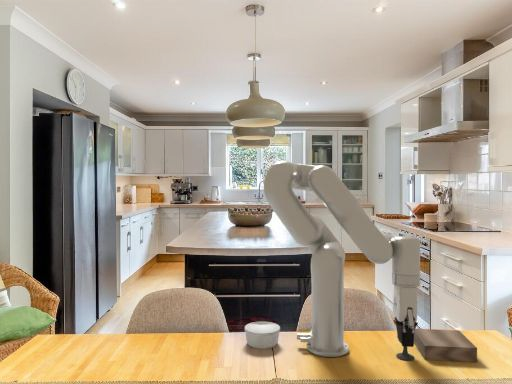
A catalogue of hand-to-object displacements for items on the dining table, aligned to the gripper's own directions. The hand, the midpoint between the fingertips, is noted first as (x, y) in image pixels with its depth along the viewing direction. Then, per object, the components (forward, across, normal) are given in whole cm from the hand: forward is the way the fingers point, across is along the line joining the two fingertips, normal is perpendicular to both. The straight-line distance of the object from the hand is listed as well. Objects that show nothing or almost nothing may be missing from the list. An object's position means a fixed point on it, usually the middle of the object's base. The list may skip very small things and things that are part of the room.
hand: (405, 341), depth 118 cm
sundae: (+5, 0, 0) cm, 5 cm away
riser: (+4, -6, +12) cm, 14 cm away
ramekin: (+5, -5, -42) cm, 42 cm away
